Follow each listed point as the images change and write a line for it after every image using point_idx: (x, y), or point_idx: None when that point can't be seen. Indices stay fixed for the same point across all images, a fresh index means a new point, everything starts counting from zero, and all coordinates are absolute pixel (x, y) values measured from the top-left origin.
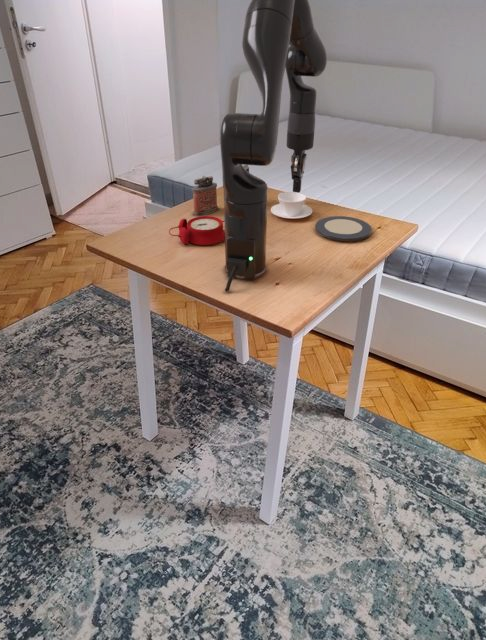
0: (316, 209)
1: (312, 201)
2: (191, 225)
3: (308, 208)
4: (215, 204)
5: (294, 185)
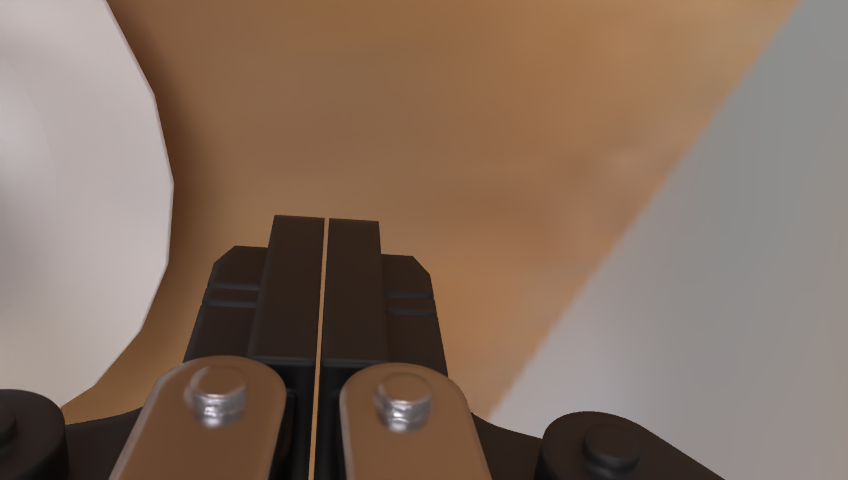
0: None
1: (485, 374)
2: None
3: None
4: None
5: (199, 321)
